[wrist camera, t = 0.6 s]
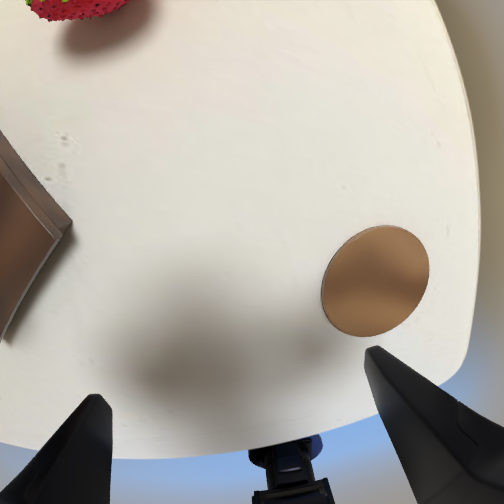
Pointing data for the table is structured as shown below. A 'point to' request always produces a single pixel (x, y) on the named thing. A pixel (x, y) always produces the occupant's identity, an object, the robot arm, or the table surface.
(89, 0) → the strawberry
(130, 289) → the table surface
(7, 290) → the shelf
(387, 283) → the coaster
